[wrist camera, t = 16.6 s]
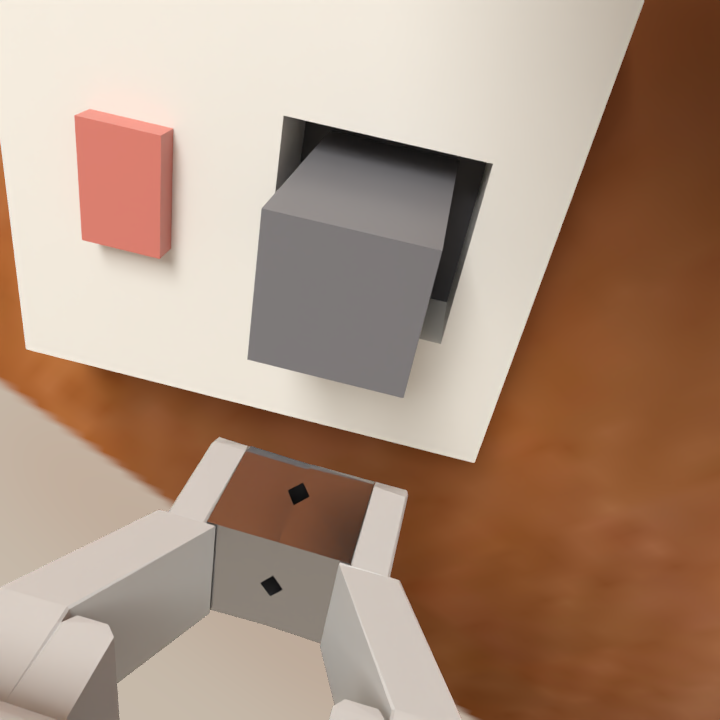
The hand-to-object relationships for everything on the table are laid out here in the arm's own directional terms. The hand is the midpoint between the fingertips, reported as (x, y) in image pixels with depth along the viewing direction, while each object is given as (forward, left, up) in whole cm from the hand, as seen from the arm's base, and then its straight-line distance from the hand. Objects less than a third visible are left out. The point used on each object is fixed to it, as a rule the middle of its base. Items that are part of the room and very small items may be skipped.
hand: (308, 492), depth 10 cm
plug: (+1, 0, -13) cm, 13 cm away
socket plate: (+4, 0, -13) cm, 14 cm away
